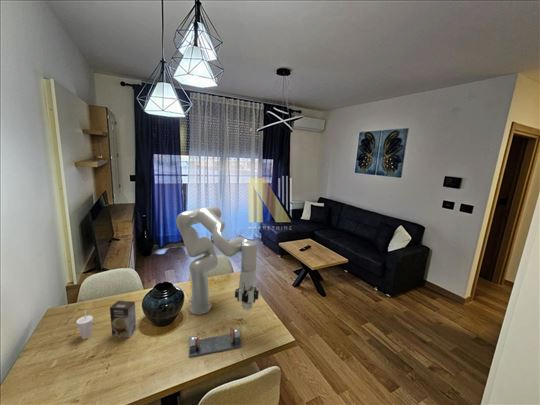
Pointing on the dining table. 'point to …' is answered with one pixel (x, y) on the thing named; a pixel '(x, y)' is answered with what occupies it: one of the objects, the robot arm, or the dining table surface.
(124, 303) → the coffee box
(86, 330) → the smoothie
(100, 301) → the dining table surface
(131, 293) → the dining table surface
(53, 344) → the dining table surface
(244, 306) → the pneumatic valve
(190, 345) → the grey bracket
